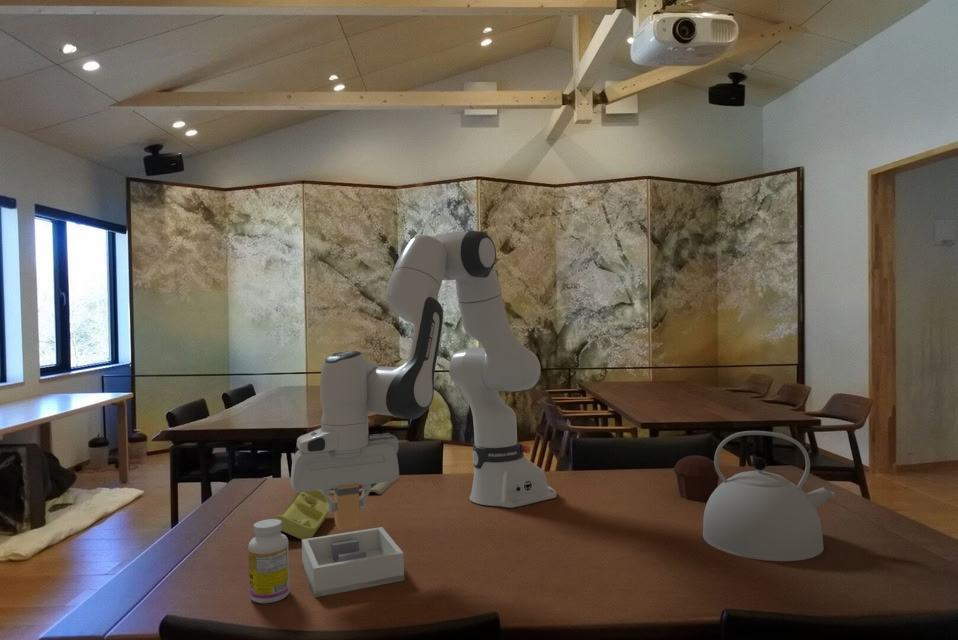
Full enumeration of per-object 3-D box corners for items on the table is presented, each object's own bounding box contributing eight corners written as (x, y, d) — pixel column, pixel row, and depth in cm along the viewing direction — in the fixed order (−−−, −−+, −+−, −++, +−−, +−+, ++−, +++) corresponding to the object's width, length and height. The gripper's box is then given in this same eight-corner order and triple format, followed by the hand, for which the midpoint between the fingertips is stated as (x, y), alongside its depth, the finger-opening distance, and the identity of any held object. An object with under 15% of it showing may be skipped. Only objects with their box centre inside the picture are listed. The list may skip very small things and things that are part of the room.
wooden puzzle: (336, 479, 194) (336, 468, 194) (398, 480, 192) (397, 468, 192) (313, 496, 177) (313, 483, 177) (380, 497, 174) (380, 484, 174)
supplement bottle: (255, 589, 116) (253, 517, 116) (293, 587, 117) (291, 515, 117) (245, 606, 110) (242, 530, 109) (285, 603, 110) (283, 528, 110)
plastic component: (314, 531, 140) (271, 512, 140) (300, 561, 141) (258, 542, 141) (337, 497, 160) (300, 481, 160) (325, 524, 160) (288, 507, 160)
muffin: (731, 497, 164) (730, 457, 163) (703, 505, 157) (702, 464, 157) (692, 487, 173) (691, 449, 173) (664, 495, 167) (663, 456, 167)
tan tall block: (355, 520, 127) (354, 480, 127) (360, 527, 123) (359, 484, 123) (334, 523, 125) (333, 482, 125) (338, 530, 121) (337, 487, 121)
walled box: (382, 551, 133) (382, 526, 133) (404, 580, 118) (403, 553, 118) (302, 565, 127) (301, 539, 127) (314, 597, 112) (313, 568, 112)
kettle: (826, 528, 140) (824, 423, 139) (847, 568, 118) (845, 445, 118) (703, 518, 148) (701, 420, 148) (702, 555, 127) (699, 439, 126)
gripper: (393, 429, 131) (395, 498, 131) (288, 439, 123) (290, 512, 123) (402, 434, 125) (404, 506, 125) (292, 444, 117) (294, 521, 117)
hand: (346, 509), depth 124 cm, fingers closed on tan tall block, 4 cm apart
